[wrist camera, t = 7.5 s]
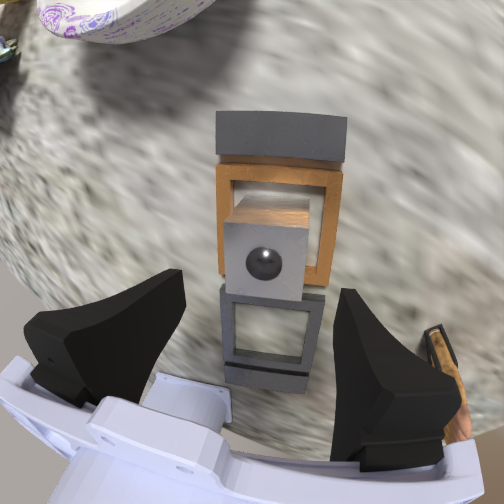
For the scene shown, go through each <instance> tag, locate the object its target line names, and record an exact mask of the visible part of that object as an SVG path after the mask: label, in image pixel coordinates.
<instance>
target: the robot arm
mask: <svg viewBox="0 0 504 504" xmlns="http://www.w3.org/2000/svg"><path fill="white" fill-rule="evenodd" d="M185 308H186V299H185V291H184V283H183V275H182V270H178V269H168V270H165V271H163V272H161V273H159V274H157V275H155V276H153V277H151V278H149V279H147V280H145V281H143V282H142V283H140V284H138V285H136V286H134V287H131V288H129V289H127V290H125V291H123V292H121V293H119V294H116V295H114V296H111V297H109V298H106V299H103V300H100V301H97V302H94V303H90V304H87V305H83V306H79V307H74V308H69V309H63V310H54V311H43V312H39V313H37V314H36V315H35V316H34V317H33V318H32V319H31V320H30V321H29V322H28V323H27V324H26V325H25V326H24V336H25V339H26V341H27V343H28V345H29V347H30V349H31V350H32V352H33V354H34V356H35V358H36V359H37V361H38V363H39V364H38V365H37V366H36V367H34V366H33V364H32V363H30V362H29V361H27V360H26V359H24V358H23V357H21V356H19V355H17V356H16V357H15V358H14V359H13V360H12V361H11V363H9V364H8V366H7V367H6V368H5V369H4V370H3V371H2V372H1V373H0V402H1V403H2V405H3V406H4V407H5V408H6V410H7V411H8V412H9V413H10V414H11V415H12V416H13V418H14V419H15V420H16V421H17V422H19V423H20V424H21V425H22V426H23V427H25V428H26V429H27V430H29V431H30V432H31V433H32V434H33V435H35V436H36V437H37V438H39V439H40V440H41V441H42V442H44V443H45V444H46V445H48V446H49V447H50V448H52V449H53V450H54V451H56V452H57V453H58V454H60V455H61V456H63V457H64V458H66V459H67V460H69V461H70V464H69V465H68V467H67V469H66V470H65V472H64V474H63V475H62V477H61V479H60V481H59V483H58V484H57V486H56V487H55V489H54V491H53V493H52V495H51V496H50V498H49V500H48V502H47V503H46V504H467V503H469V502H471V501H473V500H474V499H476V498H478V497H480V496H481V495H483V493H484V487H483V480H482V474H481V469H480V463H479V459H478V454H477V449H476V445H475V441H474V439H468V440H464V441H459V442H454V443H450V444H448V445H446V446H444V447H443V446H442V441H441V440H443V439H444V437H445V433H444V427H445V426H446V425H447V424H448V423H449V422H450V420H451V419H452V418H453V417H454V416H455V415H456V413H457V412H458V410H459V409H460V407H461V404H462V397H461V394H460V391H459V388H458V385H457V382H456V380H455V378H454V377H452V376H450V375H448V374H446V373H444V372H442V371H440V370H438V369H436V368H434V367H433V366H431V365H430V364H428V363H426V362H425V361H423V360H422V359H420V358H419V357H417V356H416V355H415V354H413V353H412V352H411V351H410V350H408V349H407V348H406V347H405V346H403V345H402V344H401V343H400V342H399V341H398V340H397V339H396V338H395V337H394V336H393V335H391V334H390V332H389V331H388V330H387V329H386V328H385V327H384V326H383V325H382V324H381V323H380V321H379V320H378V319H377V318H376V317H375V315H374V314H373V313H372V312H371V310H370V309H369V308H368V306H367V305H366V304H365V302H364V301H363V299H362V298H361V297H360V295H359V294H358V292H357V291H356V290H355V289H348V288H341V293H340V298H339V302H338V307H337V311H336V316H335V320H334V325H333V350H334V361H335V373H336V390H337V394H336V411H335V423H334V433H333V441H332V449H331V455H330V461H309V460H295V459H286V458H277V457H269V456H262V455H255V454H249V453H244V452H238V451H233V450H230V446H229V444H228V443H227V442H226V440H225V439H224V437H223V436H222V435H221V434H220V431H221V428H222V425H223V422H227V423H231V422H232V410H231V395H230V390H229V389H228V388H224V387H219V386H214V385H210V384H205V383H201V382H196V381H192V380H188V379H184V378H180V377H176V376H172V375H168V374H164V373H161V372H157V373H156V374H155V375H156V378H157V379H156V380H155V382H154V384H153V386H152V387H151V389H150V391H149V393H148V394H147V396H146V398H145V400H144V402H143V403H142V405H139V401H140V398H141V396H142V393H143V390H144V387H145V385H146V383H147V380H148V378H149V376H150V373H151V371H152V369H153V367H154V364H155V362H156V360H157V359H158V357H159V355H160V353H161V352H162V350H163V349H164V347H165V345H166V344H167V342H168V340H169V339H170V337H171V336H172V334H173V332H174V331H175V329H176V327H177V326H178V324H179V322H180V320H181V318H182V316H183V313H184V311H185Z"/></svg>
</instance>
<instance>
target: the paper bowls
mask: <svg viewBox="0 0 504 504" xmlns="http://www.w3.org/2000/svg"><path fill="white" fill-rule="evenodd" d="M215 1H216V0H37V11H38V16H39V18H40V21H41V22H42V24H43V25H44V26H45V28H46V29H47V30H48V31H50V32H51V33H52V34H54V35H56V36H58V37H62V38H69V39H77V40H83V41H91V42H95V43H106V44H127V43H133V42H137V41H142V40H147V39H149V38H152V37H155V36H157V35H160V34H163V33H165V32H167V31H169V30H172V29H174V28H176V27H177V26H180V25H181V24H183V23H185V22H186V21H189V19H192V18H194V17H195V16H196V15H197V14H199V13H200V12H201V11H203V10H204V9H205V8H207V7H208V6H210V5H211V4H212V3H213V2H215Z"/></svg>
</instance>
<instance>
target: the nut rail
mask: <svg viewBox="0 0 504 504" xmlns="http://www.w3.org/2000/svg"><path fill="white" fill-rule="evenodd" d="M346 131H347V117H340V116H331V115H322V114H310V113H297V112H278V111H216V154H226V155H258V156H276V157H291V158H304V159H315V160H325V161H334V162H343V163H344V159H345V146H346ZM234 180H245V181H262V182H277V183H290V184H302V185H312V186H322V187H326V190H325V201H324V210H323V220H322V229H321V237H320V245H319V253H318V261H317V267H310V266H305V273H304V282H303V284H310V285H320V286H328V283H329V277H330V271H331V265H332V259H333V252H334V246H335V239H336V232H337V224H338V216H339V208H340V200H341V191H342V181H343V173H342V171H334V170H325V169H315V168H304V167H292V166H278V165H261V164H239V163H219V164H217V165H216V203H217V239H218V266H219V274H222V275H225V262H224V235H223V221H224V220H225V219H226V218H227V217H228V216H229V214H230V213H231V212H232V211H233V210H234ZM235 302H238V303H246V304H253V305H261V306H269V307H278V308H286V309H295V310H304V311H310V314H309V320H308V325H307V331H306V337H305V342H304V348H303V353H302V357H294V356H286V355H277V354H270V353H262V352H255V351H249V350H242V349H236V337H235ZM324 305H325V295H317V294H307V293H302V299H301V301H291V300H281V299H272V298H263V297H254V296H246V295H238V294H230V293H226V285H225V284H222V286H221V288H220V308H221V325H222V341H223V356H224V361H226V362H225V364H224V370H225V383H229V384H234V385H240V386H246V387H252V388H258V389H265V390H272V391H280V392H288V393H297V394H304V393H305V389H306V385H307V381H308V377H309V372H310V369H311V365H312V361H313V357H314V352H315V348H316V343H317V339H318V334H319V329H320V325H321V320H322V315H323V310H324Z"/></svg>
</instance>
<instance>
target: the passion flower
mask: <svg viewBox="0 0 504 504" xmlns="http://www.w3.org/2000/svg"><path fill="white" fill-rule="evenodd" d="M16 43H17V39H12V40H9V41H5V38H4V37H3V36H2V37H0V62H4V61H6V60H8V59H9V58H10V57H11V56H12V55H13V54H14V52H15V51H16V50H17V48H18V46H15V45H16Z"/></svg>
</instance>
